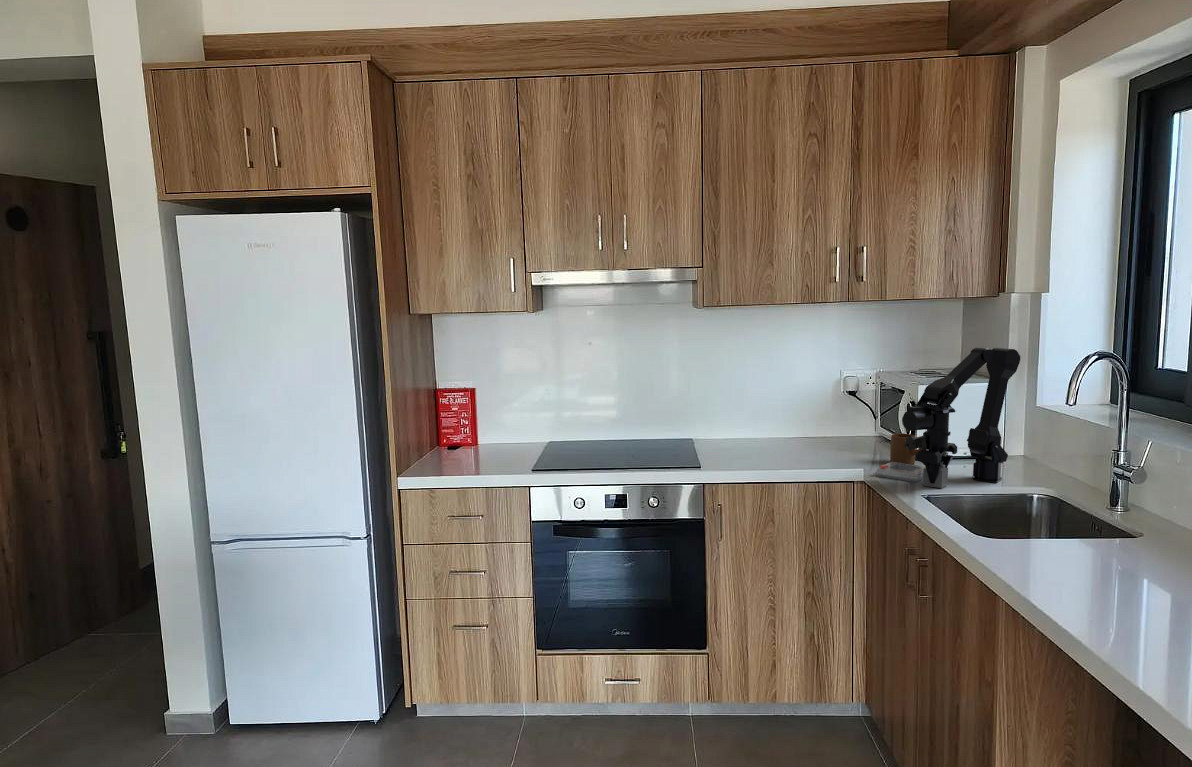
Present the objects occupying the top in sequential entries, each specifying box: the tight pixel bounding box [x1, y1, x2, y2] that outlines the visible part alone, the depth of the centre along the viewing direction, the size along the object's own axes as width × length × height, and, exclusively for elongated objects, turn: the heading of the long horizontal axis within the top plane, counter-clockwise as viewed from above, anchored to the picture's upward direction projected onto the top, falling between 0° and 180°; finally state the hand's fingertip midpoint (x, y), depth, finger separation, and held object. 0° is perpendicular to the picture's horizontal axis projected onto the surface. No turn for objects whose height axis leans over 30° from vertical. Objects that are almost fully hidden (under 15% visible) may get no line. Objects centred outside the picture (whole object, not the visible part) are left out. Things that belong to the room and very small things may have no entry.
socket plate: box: [876, 462, 925, 483], centre depth 228 cm, size 12×12×3 cm
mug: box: [889, 432, 922, 465], centre depth 241 cm, size 12×8×9 cm, turn 26°
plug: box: [922, 464, 949, 489], centre depth 215 cm, size 5×5×6 cm
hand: (935, 481), depth 215 cm, fingers closed on plug, 5 cm apart
